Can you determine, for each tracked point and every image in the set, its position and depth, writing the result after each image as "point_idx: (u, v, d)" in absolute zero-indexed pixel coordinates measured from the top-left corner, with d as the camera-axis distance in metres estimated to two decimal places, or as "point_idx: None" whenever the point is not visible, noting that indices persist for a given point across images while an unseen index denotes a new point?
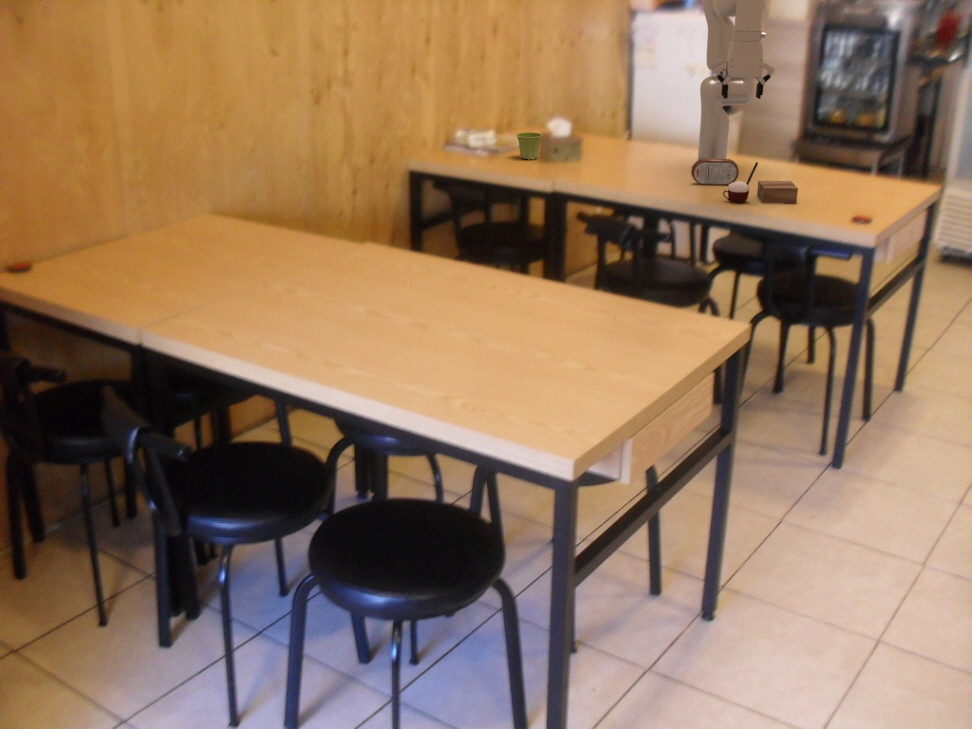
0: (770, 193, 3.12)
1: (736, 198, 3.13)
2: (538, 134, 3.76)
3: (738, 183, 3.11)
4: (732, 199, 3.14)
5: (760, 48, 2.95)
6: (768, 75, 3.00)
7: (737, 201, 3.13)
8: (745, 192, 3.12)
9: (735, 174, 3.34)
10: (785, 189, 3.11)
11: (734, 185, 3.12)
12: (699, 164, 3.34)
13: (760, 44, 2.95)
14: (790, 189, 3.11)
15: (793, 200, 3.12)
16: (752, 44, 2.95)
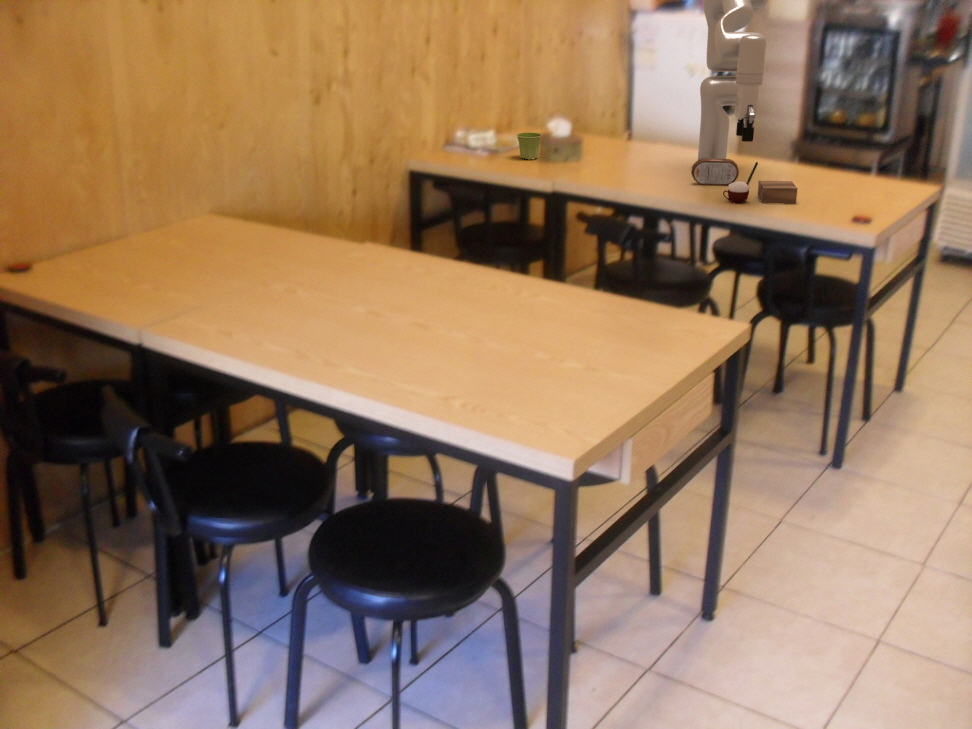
0: (769, 193, 3.12)
1: (736, 198, 3.13)
2: (538, 134, 3.76)
3: (738, 183, 3.11)
4: (732, 199, 3.14)
5: None
6: None
7: (737, 201, 3.13)
8: (745, 192, 3.12)
9: (735, 174, 3.34)
10: (784, 189, 3.11)
11: (734, 185, 3.12)
12: (699, 164, 3.34)
13: None
14: (789, 189, 3.11)
15: (792, 200, 3.12)
16: None
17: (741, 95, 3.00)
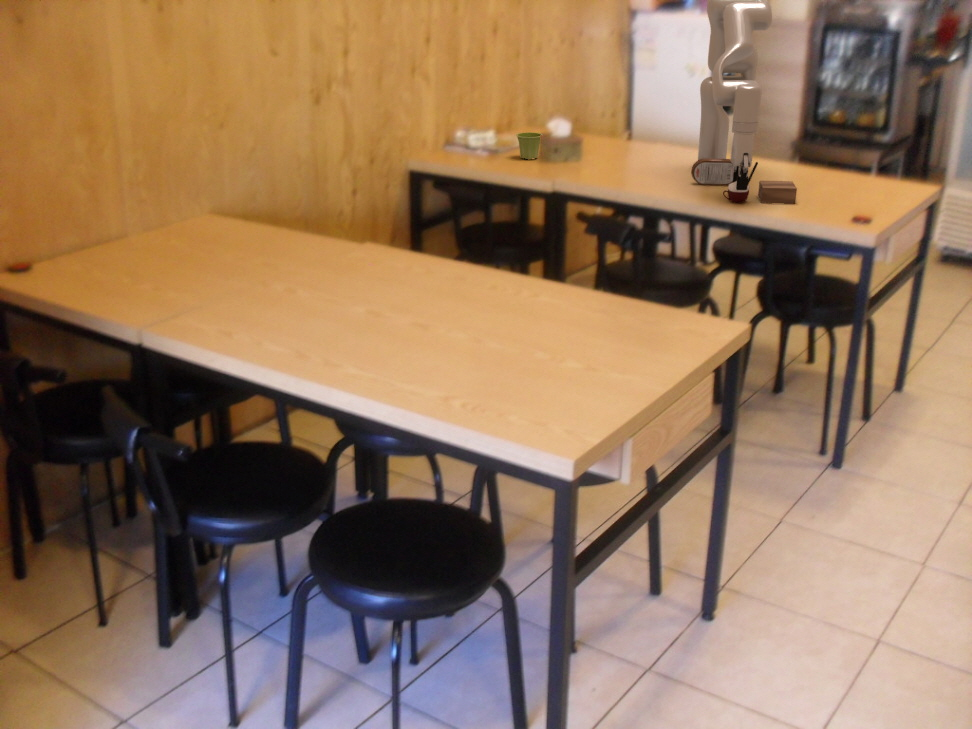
0: (769, 193, 3.12)
1: (736, 198, 3.13)
2: (538, 134, 3.76)
3: None
4: (732, 199, 3.14)
5: None
6: None
7: (737, 201, 3.13)
8: (745, 192, 3.12)
9: None
10: (784, 189, 3.11)
11: (734, 185, 3.12)
12: (699, 164, 3.34)
13: None
14: (789, 189, 3.11)
15: (792, 200, 3.12)
16: None
17: (737, 143, 3.05)
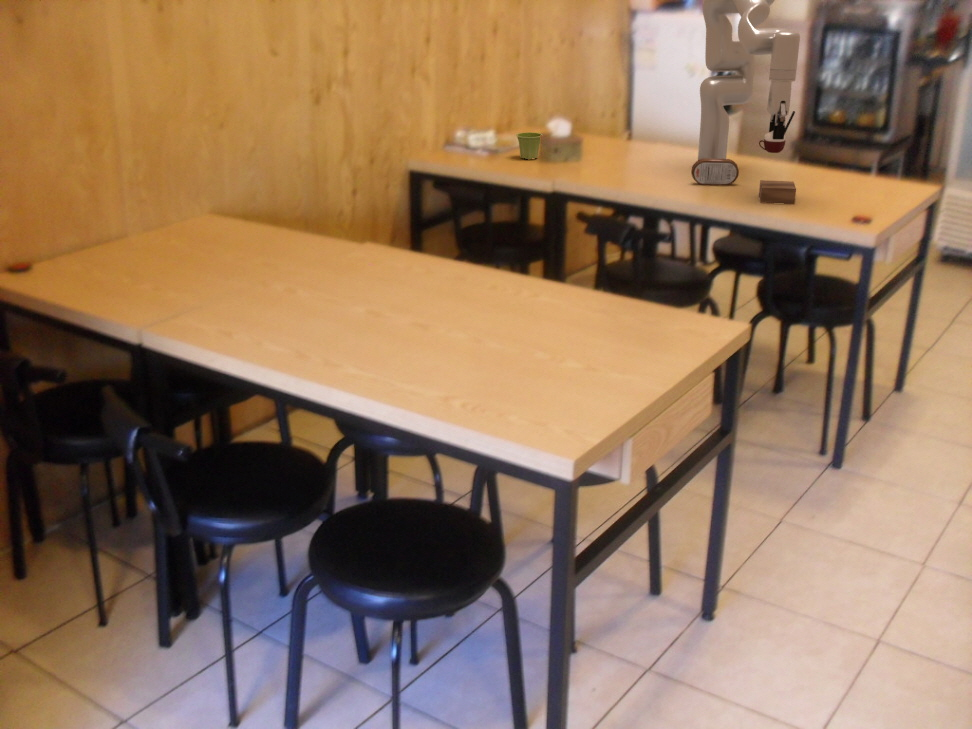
0: (768, 193, 3.12)
1: (772, 148, 3.09)
2: (538, 134, 3.76)
3: None
4: (768, 149, 3.10)
5: None
6: None
7: (773, 151, 3.09)
8: (781, 142, 3.08)
9: (735, 174, 3.34)
10: (783, 189, 3.11)
11: (770, 134, 3.08)
12: (699, 164, 3.34)
13: None
14: (788, 189, 3.11)
15: (791, 200, 3.12)
16: None
17: (774, 91, 3.01)
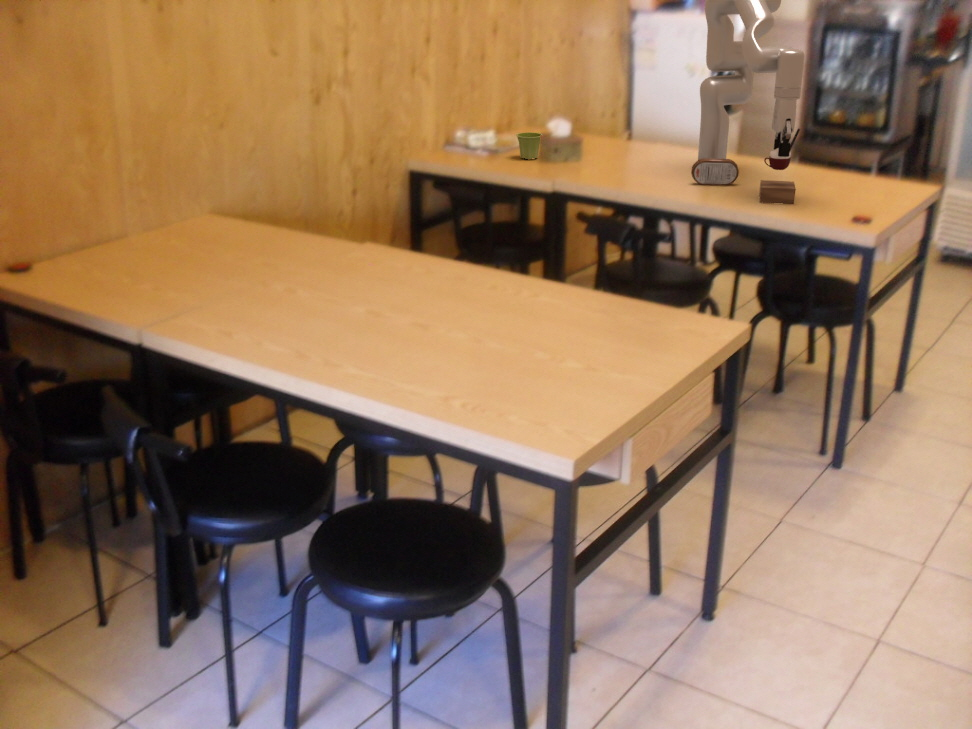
0: (767, 193, 3.13)
1: (778, 165, 3.11)
2: (538, 134, 3.76)
3: None
4: (774, 166, 3.12)
5: None
6: None
7: (779, 168, 3.12)
8: (787, 159, 3.10)
9: (735, 174, 3.34)
10: (782, 189, 3.11)
11: (776, 152, 3.10)
12: (699, 164, 3.34)
13: None
14: (788, 189, 3.11)
15: (790, 201, 3.12)
16: None
17: (779, 109, 3.04)
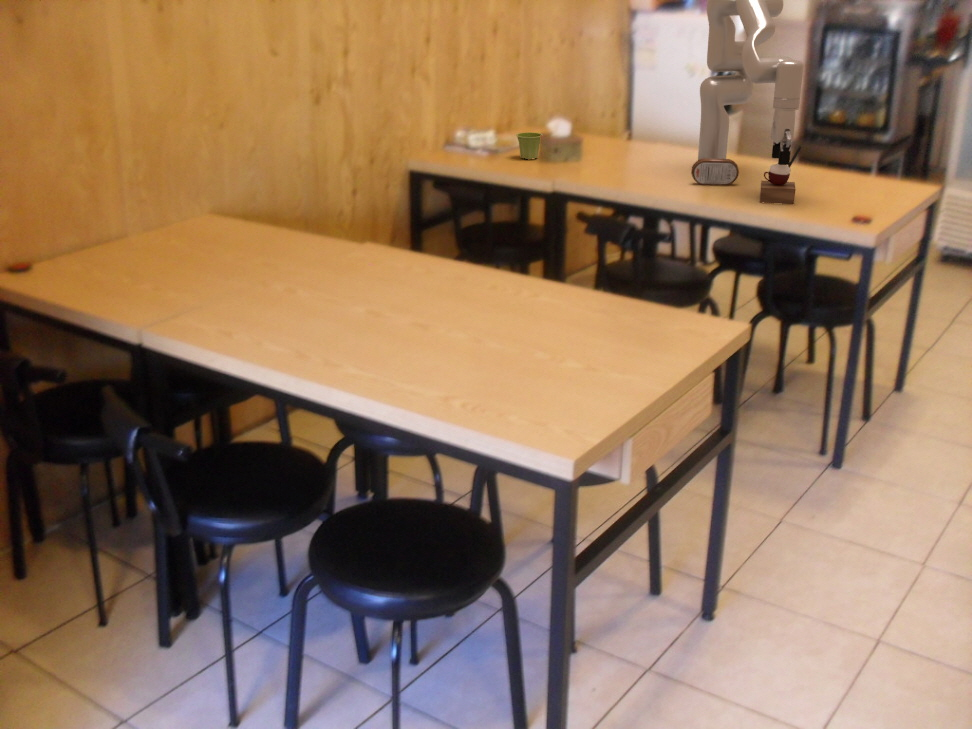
0: (767, 193, 3.13)
1: (777, 180, 3.13)
2: (538, 134, 3.76)
3: (780, 165, 3.12)
4: (773, 181, 3.14)
5: None
6: None
7: (777, 183, 3.14)
8: (786, 175, 3.12)
9: (735, 174, 3.34)
10: (782, 189, 3.11)
11: (776, 167, 3.12)
12: (699, 164, 3.34)
13: None
14: (787, 190, 3.11)
15: (790, 201, 3.12)
16: None
17: (778, 119, 3.05)
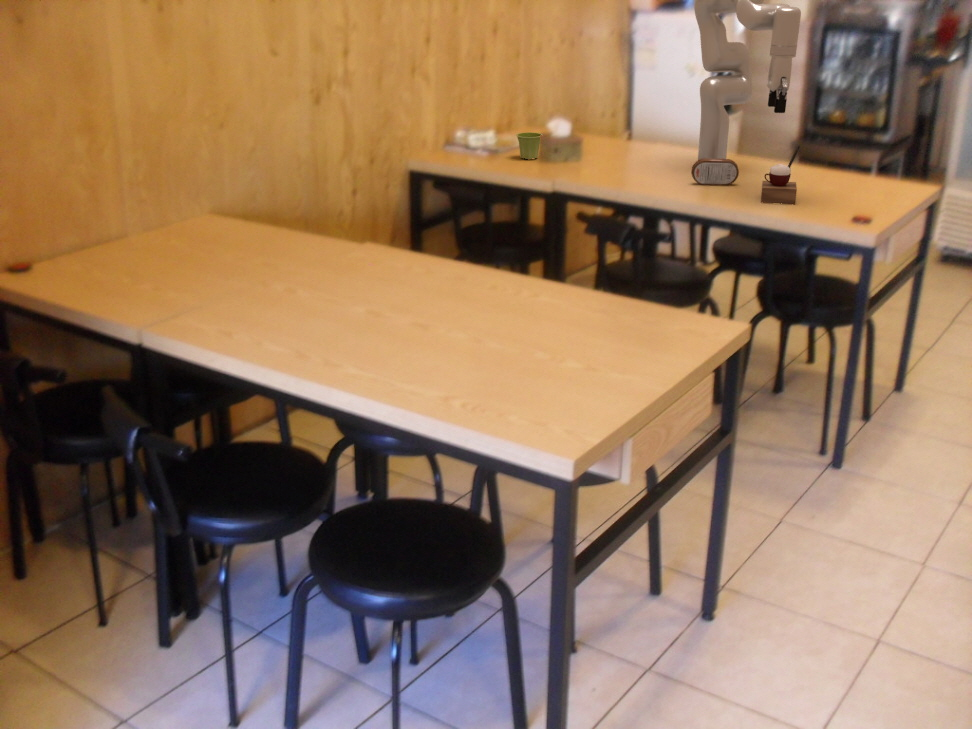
0: (768, 193, 3.13)
1: (778, 181, 3.13)
2: (538, 134, 3.76)
3: (780, 166, 3.11)
4: (774, 182, 3.14)
5: None
6: None
7: (779, 184, 3.13)
8: (787, 175, 3.12)
9: (735, 174, 3.34)
10: (784, 190, 3.11)
11: (776, 168, 3.12)
12: (699, 164, 3.34)
13: None
14: (789, 190, 3.11)
15: (792, 201, 3.12)
16: None
17: (775, 67, 3.04)
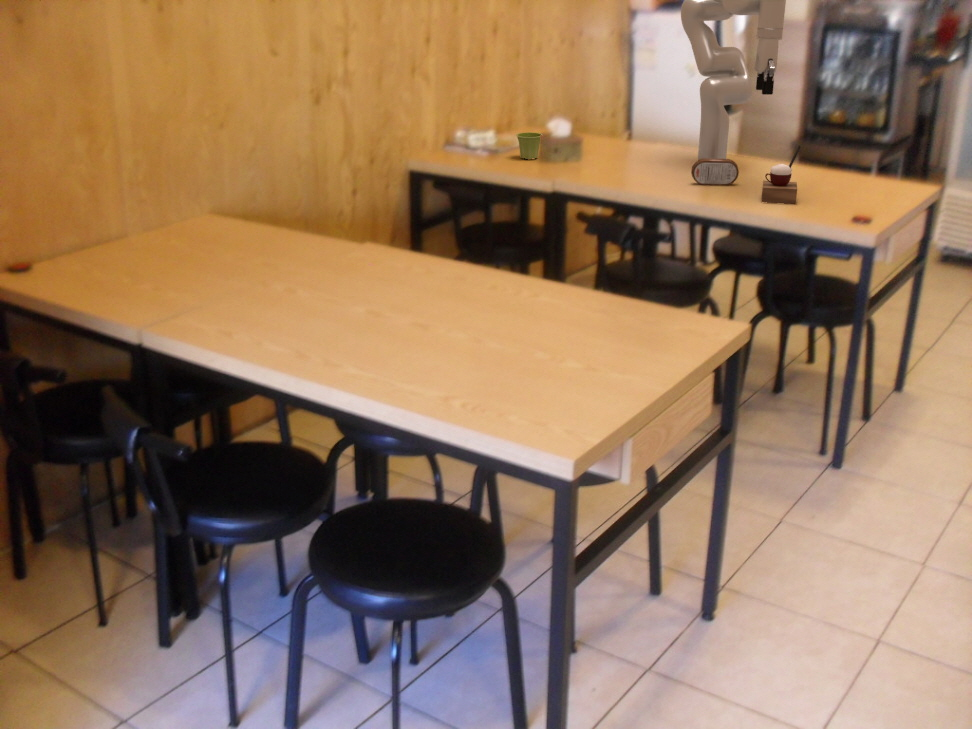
0: (769, 193, 3.13)
1: (779, 181, 3.13)
2: (538, 134, 3.76)
3: (781, 166, 3.12)
4: (774, 182, 3.14)
5: None
6: None
7: (780, 184, 3.14)
8: (788, 175, 3.12)
9: (735, 174, 3.34)
10: (784, 189, 3.11)
11: (777, 168, 3.12)
12: (699, 164, 3.34)
13: None
14: (789, 190, 3.11)
15: (792, 201, 3.12)
16: None
17: (761, 49, 3.11)
